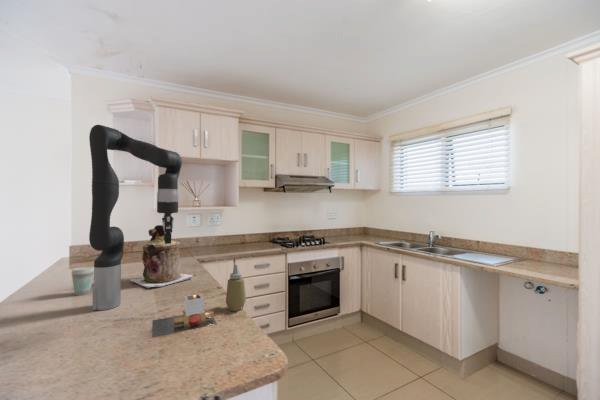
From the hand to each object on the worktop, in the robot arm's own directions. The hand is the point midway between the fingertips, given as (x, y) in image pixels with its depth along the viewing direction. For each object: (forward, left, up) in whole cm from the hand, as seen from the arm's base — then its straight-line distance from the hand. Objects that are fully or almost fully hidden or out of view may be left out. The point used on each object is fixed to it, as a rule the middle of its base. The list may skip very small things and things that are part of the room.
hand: (167, 242), depth 107 cm
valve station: (+5, -14, -28) cm, 32 cm away
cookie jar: (-1, +51, -28) cm, 59 cm away
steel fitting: (+8, -16, -23) cm, 29 cm away
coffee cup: (-35, +45, -28) cm, 64 cm away
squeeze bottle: (+25, -8, -28) cm, 39 cm away
